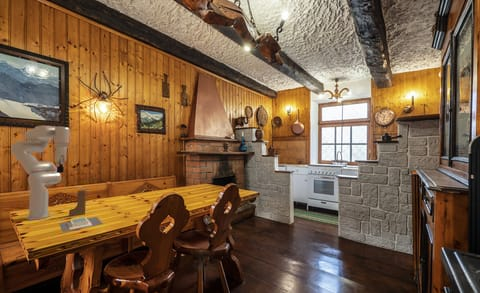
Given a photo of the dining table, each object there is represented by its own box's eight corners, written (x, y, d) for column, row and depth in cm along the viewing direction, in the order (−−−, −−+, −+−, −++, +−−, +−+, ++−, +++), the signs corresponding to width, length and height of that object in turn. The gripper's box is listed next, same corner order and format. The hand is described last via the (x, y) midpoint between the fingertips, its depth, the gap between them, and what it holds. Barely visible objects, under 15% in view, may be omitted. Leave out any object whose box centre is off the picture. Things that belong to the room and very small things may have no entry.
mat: (59, 224, 134) (59, 223, 134) (96, 217, 148) (96, 216, 148) (62, 233, 120) (62, 231, 120) (103, 224, 134) (103, 223, 134)
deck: (70, 219, 134) (72, 223, 127) (85, 217, 140) (88, 220, 133) (70, 223, 134) (72, 227, 127) (85, 220, 140) (88, 224, 133)
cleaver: (69, 217, 147) (70, 191, 148) (69, 216, 151) (69, 190, 151) (85, 215, 153) (86, 190, 154) (84, 213, 157) (85, 189, 157)
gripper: (52, 144, 143) (51, 171, 143) (55, 145, 133) (54, 174, 132) (66, 145, 148) (65, 171, 148) (70, 145, 138) (69, 173, 138)
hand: (60, 172), depth 140 cm, fingers closed
